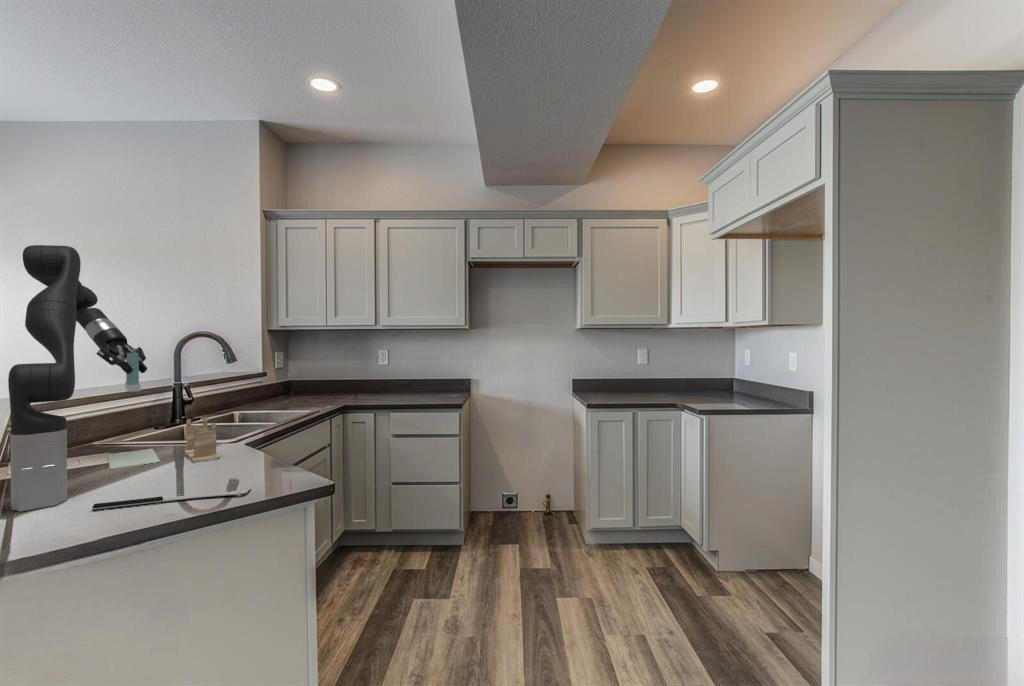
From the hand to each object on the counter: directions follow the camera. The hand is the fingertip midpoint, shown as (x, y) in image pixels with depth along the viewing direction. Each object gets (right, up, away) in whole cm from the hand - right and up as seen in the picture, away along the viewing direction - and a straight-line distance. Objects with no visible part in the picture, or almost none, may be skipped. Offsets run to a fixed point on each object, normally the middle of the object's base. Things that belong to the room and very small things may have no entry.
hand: (137, 371), depth 149 cm
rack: (+18, -29, +4) cm, 34 cm away
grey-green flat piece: (-2, -6, 0) cm, 6 cm away
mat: (-2, -29, 0) cm, 29 cm away
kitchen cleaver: (+42, -29, -38) cm, 64 cm away
